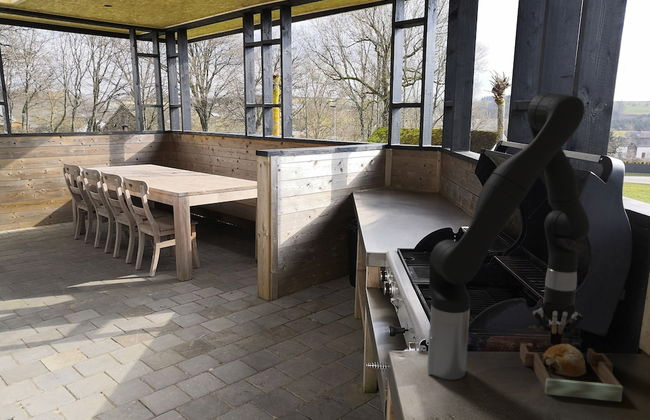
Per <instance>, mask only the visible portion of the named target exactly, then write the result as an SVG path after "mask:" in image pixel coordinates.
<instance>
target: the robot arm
mask: <svg viewBox="0 0 650 420" xmlns="http://www.w3.org/2000/svg"><path fill="white" fill-rule="evenodd" d="M584 114H585V104H584V102H583V100H582V99H581V98H579V97H578V96H575V95H569V94H562V93H553V92H542V93H539V94H537V95H535V96H534V97H532V100H531V101H530V103H529V104H528V108H527V116H526V117H527V122H528V126H529V129H530V132H531V134H532V138H533V140H531V142H530V143H529V144H527V145H526V146H525V147H523V148H522V149H521V150H520V151H517V153H515V154H513V155H512V156H510V157H508V158H507V159H506V160H503V162H502V163H500V164H499V165H498V166H497V167H496V168H495V169H494V170H493V172H492V173H491V175H490V176H489V177H488V179H487V180H486V182H485V183H484V185H483V187H482V188H481V189H480V193H479V195H478V198H477V200H476V204H475V209H474V213H473V216H472V219H471V221H470V225H469V226H468V228H467V229H466V231H465V232H464V233H463V235H462V236H461V238H460V239H459V240H458V241H457V240H453V239H444V240H442V241H440V242H438V243H436V244H435V246H434V248H433V249H432V251H431V253H430V258H429V273H428V274H429V275H428V279H429V280H428V282H429V283H428V287H429V288H428V289H429V293H430V297H431V304H430V305H431V306H430V320H429V321H430V322H429V331H428V345H427V346H428V347H427V348H428V349H427V350H428V351H427V354H428V355H427V374H428V375H430V376H435V377H436V378H438V379H439V378H440V379H443V380H450V381H451V380H460V379H462V378H464V377H465V375H466V369H467V355H468V354H467V353H468V341H469V324H470V311H471V297H470V295H469V292H468V290H467V287H466V284H467V283H469V282H470V281H471V280H472V279H473V278H474V277H475V276H476V275H477V273H478V271H479V270H480V268H481V267H482V265H483V263H484V261H485V259H486V257H487V256H488V254H489V252H490V250H491V248H492V247H493V244H494V243H495V242H496V240H497V239H498V237H499V235H500V234H501V232H502V231H503V229H504V228H505V226H506V224H507V223H508V222H509V221H510V219H511V217H512V215H513V214H514V213H515V212H516V210H517V209H518V207H520V205H521V204H522V202H523V201H524V199H525V198H526V197H527V195H528V193H529V192H530V190H531V189H532V187H533V185H534V184H535V182H536V181H537V180H538V178H539V177H540V176H541V174H542V173H544V179H545V184H546V191H547V199H548V204H549V206H550V207H551V208H552V209H553V210H552V211H551V212H549V213H548V214H547V215H546V217H545V219H544V234H545V237H546V242H547V249H548V262H547V270H546V274H545V280H544V293H543V301H542V303H541V305H540V308H539V309H537V310H536V309H533V310H532V314H533V315H534V317H535V318H536V320H537V321H538V322H539V324H540V325H541V326H542V328H543V329H544V330H545V331H546V332H549V333H548V342H549V344H550V345H551V347H552V346H555V345H559V344H562V337H563V334H564V333H567V334H569V333H570V332H571V331H573V330H574V329H575V328H576V327H577V326H578V325H579V324H580V323H581V322H583V320H584V317H583V316H582V314H580V313H579V312H577V311H576V310H577V309H576V307H575V300H576V293H577V283H578V276H577V275H578V272H577V270H578V263H579V252H578V250H577V249H576V248H573V247H572V246H569V245H567V244H566V243H565V241H564V240H569V241H575V242H577V241H582V240H584V239H585V238H587V236H588V234H589V233H590V229H591V227H590V221H589V217H588V215H587V213H586V210H585V209H584V206H583V205H582V204H583V203H582V202H581V199H580V197H579V187H578V179H577V176H576V172H575V169H574V167H573V165H572V164H571V162H570V160H569V159H568V157H567V155H566V154H565V151H564V149H563V148H562V147H564V145H565V144H566V143H567V142H568V141H569V140H570V138H571V137H572V136H573V134H575V132H576V131H577V129H578V128H579V127H580V125H581V123H582V121H583V119H584V116H585V115H584ZM578 313H579V314H578ZM544 314H545V315H546V317H547V319H548V324H547V323H546V322H545V320H544ZM571 318H572V319H571ZM570 319H571V320H570ZM569 320H570V321H569Z"/></svg>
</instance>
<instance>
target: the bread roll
mask: <svg viewBox="0 0 650 420" xmlns="http://www.w3.org/2000/svg"><path fill="white" fill-rule="evenodd" d="M541 356H542V363H543V365H544V367H545V369H546V370H547V371H550V372H551V373H554V374H556V375H559V376H564V377H568V378H570V377H574V378H576V377H581V376H583V375H584V374H585V375H586V374H587V370H586V368H587V367H586V360H585V357H584V355H583V353H582V352H581V351H580V350H579V349H578V348H576V347H575V346H573V345H571V344H568V343H561V344H559V345H555V346H552V345H551V346H550V347H549V348H547V349H546V350H545V351H544V353H543V354H542V355H541Z"/></svg>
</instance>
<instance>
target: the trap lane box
mask: <svg viewBox="0 0 650 420" xmlns="http://www.w3.org/2000/svg"><path fill="white" fill-rule="evenodd" d="M519 345H520V346H519V357H520V360H521V363H522V364H523V366H524V367H529V368H530V367H532V368H533V371H534V373H535V375H536V376H537V378H538V381H539V383H540V385H541V388H542V389H543V391H544V393H545V395H549V396H560V397H571V398H579V399H580V398H581V399H588V400H590V399H591V400H600V401H609V402H621V403H622V397H623V391H624V386H623V385H621V383H620V382H619V381H618V379H617V378H616V377H615V376H614V374H613V369H614V364H613V363H612V362H611V360H610V359H609V358H608V356H606V354H605V353H602V352H601V353H600V352H595V351H594V349H593V348H589V347H588V348H587V353H586V354H587V355H586V362H587V363H588V364H589V366H590V367H591V368H592V370H593V372H594V373H595V374H596V376H597V377H598V378H599V380H600V381H601V382H602V383H601V382H593V381H592V382H591V381H582V380H580V381H579V380H570V379H562V378H561V379H560V378H559V379H558V378H552V377H550V374H549V373H548V370H547V368H546V367H544V365H543V360H542V359H541V358H540V355H539V354H538V353H537V352H533V351H534V344H533V343H530V342H528V343H523V342H522V343H521V342H520V344H519Z"/></svg>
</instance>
